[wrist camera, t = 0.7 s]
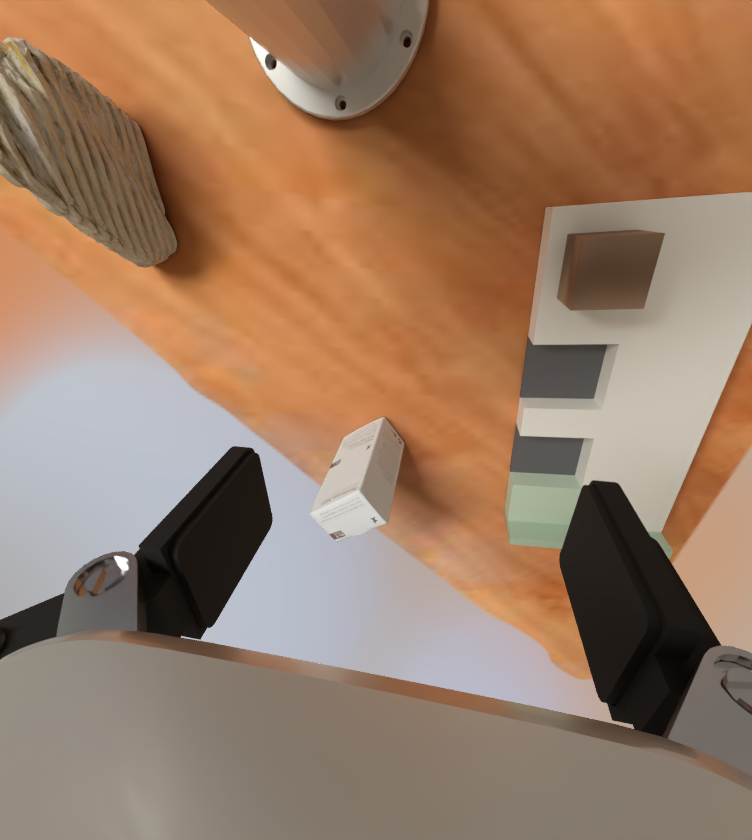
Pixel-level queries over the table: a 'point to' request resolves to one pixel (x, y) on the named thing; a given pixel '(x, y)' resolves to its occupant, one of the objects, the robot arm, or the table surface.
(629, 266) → the walnut block
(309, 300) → the table surface
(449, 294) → the table surface
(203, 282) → the table surface
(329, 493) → the skincare box
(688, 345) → the board
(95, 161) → the fossil tooth
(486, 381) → the table surface
